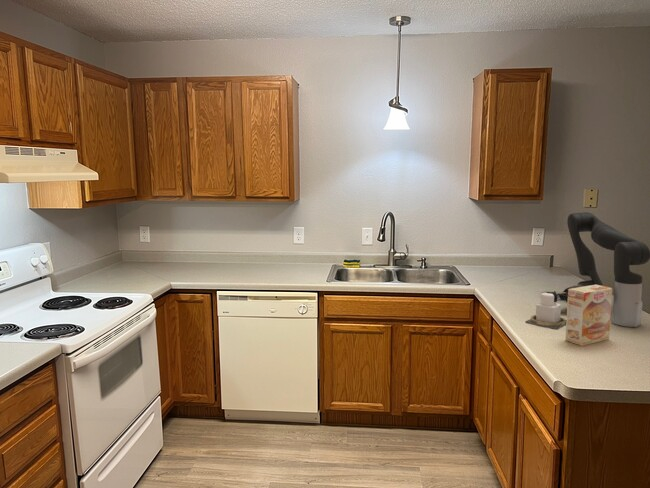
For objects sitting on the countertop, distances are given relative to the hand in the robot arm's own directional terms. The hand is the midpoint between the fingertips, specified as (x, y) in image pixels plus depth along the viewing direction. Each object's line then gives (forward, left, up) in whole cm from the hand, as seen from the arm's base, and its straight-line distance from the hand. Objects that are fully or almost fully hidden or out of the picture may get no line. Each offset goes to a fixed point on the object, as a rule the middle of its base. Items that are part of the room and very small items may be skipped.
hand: (559, 301), depth 198 cm
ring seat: (0, +10, -7) cm, 12 cm away
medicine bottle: (0, +10, -7) cm, 12 cm away
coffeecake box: (-19, +20, -7) cm, 29 cm away
